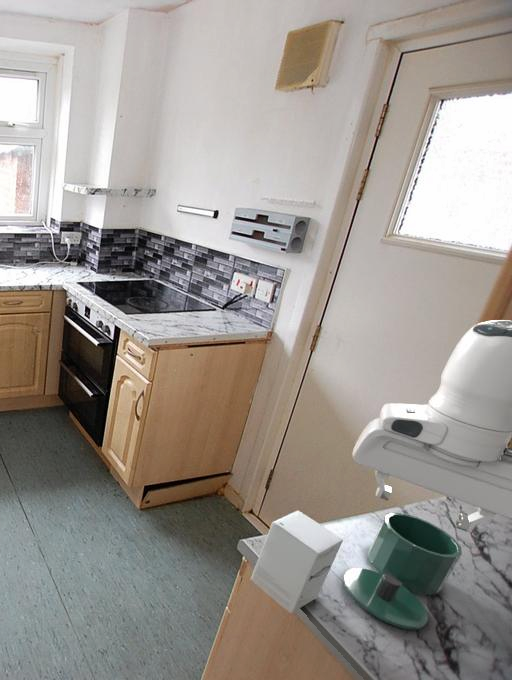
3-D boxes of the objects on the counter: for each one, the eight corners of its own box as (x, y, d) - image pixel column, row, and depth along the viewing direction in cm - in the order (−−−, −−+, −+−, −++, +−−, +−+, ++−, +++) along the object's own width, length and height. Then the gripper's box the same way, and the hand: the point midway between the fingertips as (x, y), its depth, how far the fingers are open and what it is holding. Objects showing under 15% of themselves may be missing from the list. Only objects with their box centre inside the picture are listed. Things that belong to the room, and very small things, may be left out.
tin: (422, 559, 85) (442, 523, 82) (452, 604, 76) (475, 565, 73) (359, 541, 88) (375, 506, 85) (380, 582, 79) (399, 544, 76)
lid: (406, 586, 79) (417, 565, 77) (439, 643, 69) (452, 621, 67) (333, 564, 82) (342, 544, 80) (354, 616, 72) (365, 594, 71)
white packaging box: (291, 616, 71) (318, 554, 67) (248, 579, 77) (270, 520, 73) (318, 599, 75) (345, 539, 70) (275, 565, 81) (297, 508, 76)
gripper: (564, 455, 60) (513, 537, 65) (372, 400, 72) (342, 472, 77) (578, 476, 56) (523, 563, 60) (371, 413, 67) (339, 490, 72)
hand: (420, 512), depth 69 cm, fingers open, 8 cm apart
